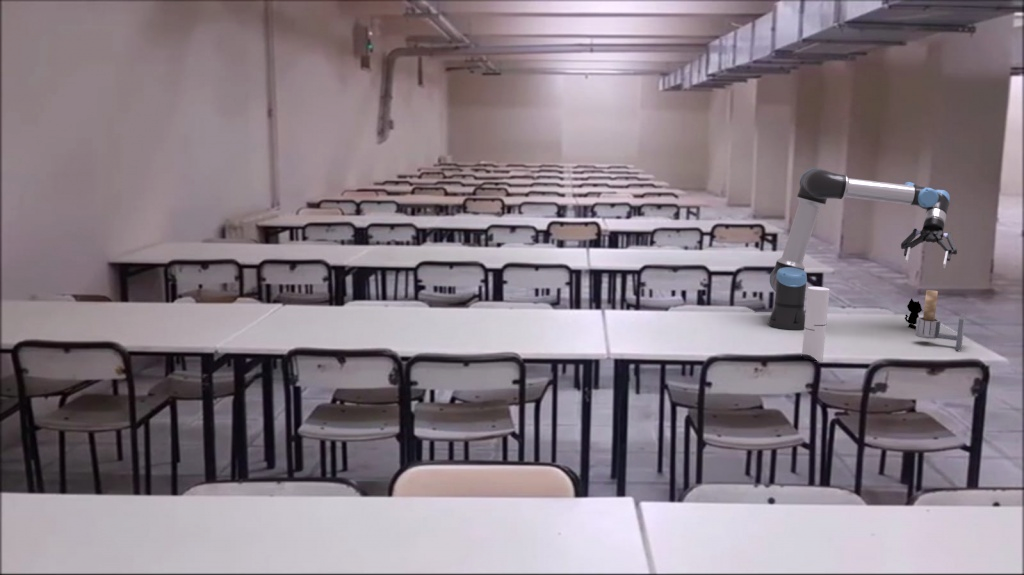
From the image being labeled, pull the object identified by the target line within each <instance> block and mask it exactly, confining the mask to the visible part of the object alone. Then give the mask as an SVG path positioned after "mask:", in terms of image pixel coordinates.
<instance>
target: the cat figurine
mask: <svg viewBox="0 0 1024 575" xmlns="http://www.w3.org/2000/svg"><path fill="white" fill-rule="evenodd" d="M906 308H907V310H908V312H910V314H909V315H908V314H905V315H904V320H905V322H906V323H908V326H907V328H910V329H912V330H916V322H917V318H918V317H920V316H919V314H920V313H921V312H922V313H924V309H923V308H922V304H921V303H920V301H919V300H918V301H914V299H913V298H912V297H911V299H910V300H909V302H908V304H907V306H906Z"/></svg>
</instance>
